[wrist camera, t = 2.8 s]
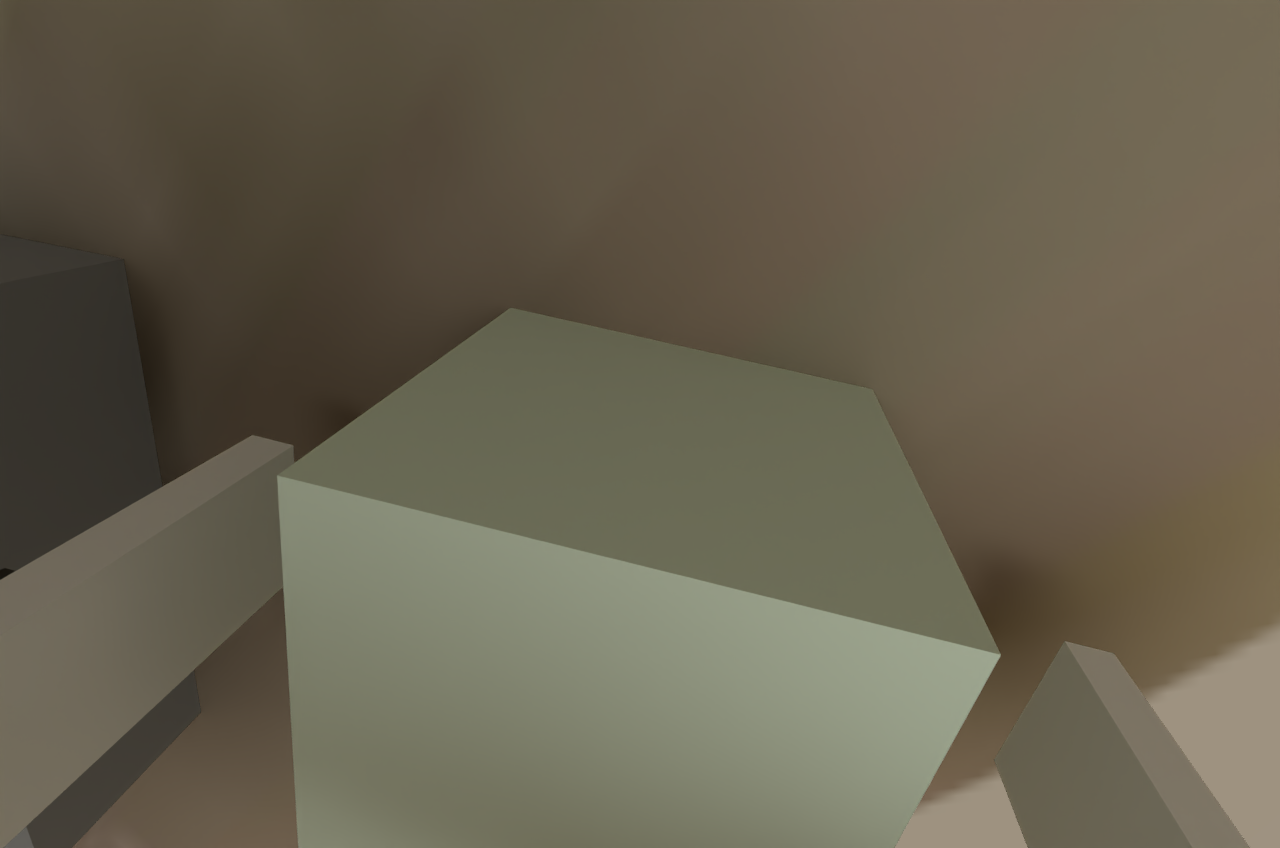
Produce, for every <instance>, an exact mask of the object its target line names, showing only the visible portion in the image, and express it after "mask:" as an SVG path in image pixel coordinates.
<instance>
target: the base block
mask: <svg viewBox="0 0 1280 848" xmlns="http://www.w3.org/2000/svg"><path fill="white" fill-rule="evenodd" d="M161 487H162V481H161V475H160V469H159V463H158V457H157V451H156V446H155V440H154V434H153V428H152V422H151V416H150V410H149V405H148V399H147V393H146V387H145V381H144V375H143V369H142V364H141V358H140V352H139V346H138V340H137V334H136V328H135V323H134V317H133V311H132V305H131V299H130V293H129V287H128V282H127V276H126V270H125V264H124V259H121V258H116V257H111V256H106V255H101V254H96V253H91V252H86V251H81V250H76V249H71V248H66V247H61V246H56V245H51V244H46V243H41V242H36V241H31V240H26V239H21V238H16V237H11V236H6V235H1V234H0V570H1V569H4V568H7V569H10V570H14V571H17V570H18V569H20V568H22V567H24V566H25V565H27V564H29V563H31V562H32V561H34V560H36V559H38V558H39V557H41V556H43V555H44V554H46V553H48V552H50V551H51V550H53V549H55V548H57V547H58V546H60V545H62V544H64V543H65V542H67V541H69V540H71V539H72V538H74V537H76V536H78V535H79V534H81V533H83V532H84V531H86V530H88V529H90V528H91V527H93V526H95V525H97V524H98V523H100V522H102V521H104V520H105V519H107V518H109V517H111V516H112V515H114V514H116V513H118V512H119V511H121V510H123V509H124V508H126V507H128V506H130V505H131V504H133V503H135V502H137V501H138V500H140V499H142V498H144V497H145V496H147V495H149V494H151V493H152V492H154V491H156V490H158V489H159V488H161ZM200 713H201V709H200V703H199V697H198V692H197V686H196V680H195V674H194V670H193V671H192V672H191V673H190V674H189V675H188V676H187V677H186V678H185V679H184V680H182V681H181V682H180V683H179V684H178V685H177V686H176V687H175V688H174V689H173V690H172V691H171V692H170V693H169V694H167V695H166V696H165V697H164V698H163V699H162V700H161V701H160V702H159V703H158V704H157V705H156V706H155V707H154V708H152V709H151V710H150V711H149V712H148V713H147V714H146V715H145V716H144V717H143V718H142V719H141V720H140V721H138V722H137V723H136V724H135V725H134V726H133V727H132V728H131V729H130V730H129V731H128V732H127V733H126V734H125V735H123V736H122V737H121V738H120V739H119V740H118V741H117V742H116V743H115V744H114V745H113V746H112V747H111V748H110V749H108V750H107V751H106V752H105V753H104V754H103V755H102V756H101V757H100V758H99V759H98V760H97V761H96V762H95V763H93V764H92V765H91V766H90V767H89V768H88V769H87V770H86V771H85V772H84V773H83V774H82V775H81V776H79V777H78V778H77V779H76V780H75V781H74V782H73V783H72V784H71V785H70V786H69V787H68V788H67V789H66V790H64V791H63V792H62V793H61V794H60V795H59V796H58V797H57V798H56V799H55V800H54V801H53V802H52V803H51V804H49V805H48V806H47V807H46V808H45V809H44V810H43V811H42V812H41V813H40V814H39V815H38V816H37V817H35V818H34V819H33V820H32V821H31V822H30V823H29V824H28V825H27V826H26V827H25V828H24V829H23V830H22V831H20V832H19V833H18V834H17V835H16V836H15V837H14V838H13V839H12V840H11V841H10V842H9V843H8V844H7V845H5V846H4V847H3V848H72V847H73V846H74V845H75V844H76V843H77V842H78V841H79V840H80V839H81V837H82V836H83V835H84V834H85V833H86V832H87V831H88V830H89V829H90V828H91V827H92V826H93V825H94V824H95V823H96V822H97V821H98V820H99V819H100V818H101V816H102V815H103V814H104V813H105V812H106V811H107V810H108V809H109V808H110V807H111V806H112V805H113V804H114V803H115V802H116V801H117V800H118V799H119V798H120V797H121V795H122V794H123V793H124V792H125V791H126V790H127V789H128V788H129V787H130V786H131V785H132V784H133V783H134V782H135V781H136V780H137V779H138V778H139V777H140V776H141V774H142V773H143V772H144V771H145V770H146V769H147V768H148V767H149V766H150V765H151V764H152V763H153V762H154V761H155V760H156V759H157V758H158V757H159V756H160V755H161V753H162V752H163V751H164V750H165V749H166V748H167V747H168V746H169V745H170V744H171V743H172V742H173V741H174V740H175V739H176V738H177V737H178V736H179V735H180V734H181V732H182V731H183V730H184V729H185V728H186V727H187V726H188V725H189V724H190V723H191V722H192V721H193V720H194V719H195V718H196V717H197V716H198V715H199V714H200Z"/></svg>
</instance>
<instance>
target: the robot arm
mask: <svg viewBox="0 0 1280 848" xmlns="http://www.w3.org/2000/svg"><path fill="white" fill-rule="evenodd" d="M292 464H294V446H293V445H290V444H286V443H282V442H278V441H275V440H271V439H267V438H263V437H259V436H255V435H251V436H250V437H248V438H246V439H245V440H243V441H241V442H239V443H238V444H236V445H234V446H232V447H231V448H229V449H227V450H225V451H224V452H222V453H220V454H218V455H217V456H215V457H213V458H211V459H210V460H208V461H206V462H205V463H203V464H201V465H199V466H198V467H196V468H194V469H192V470H191V471H189V472H187V473H185V474H184V475H182V476H180V477H178V478H177V479H175V480H173V481H171V482H170V483H168V484H166V485H164V486H163V487H161V488H159V489H158V490H156V491H154V492H152V493H151V494H149V495H147V496H145V497H144V498H142V499H140V500H138V501H137V502H135V503H133V504H131V505H130V506H128V507H126V508H124V509H123V510H121V511H119V512H118V513H116V514H114V515H112V516H111V517H109V518H107V519H105V520H104V521H102V522H100V523H98V524H97V525H95V526H93V527H91V528H90V529H88V530H86V531H84V532H83V533H81V534H79V535H78V536H76V537H74V538H72V539H71V540H69V541H67V542H65V543H64V544H62V545H60V546H58V547H57V548H55V549H53V550H51V551H50V552H48V553H46V554H44V555H43V556H41V557H39V558H38V559H36V560H34V561H32V562H31V563H29V564H27V565H25V566H24V567H22V568H20V569H18V570H17V571H14V570H10V569H7V568H4V569H1V570H0V848H3V847H4V846H5V845H7V844H8V843H9V842H10V841H11V840H12V839H13V838H14V837H15V836H16V835H17V834H18V833H19V832H20V831H22V830H23V829H24V828H25V827H26V826H27V825H28V824H29V823H30V822H31V821H32V820H33V819H34V818H35V817H37V816H38V815H39V814H40V813H41V812H42V811H43V810H44V809H45V808H46V807H47V806H48V805H49V804H51V803H52V802H53V801H54V800H55V799H56V798H57V797H58V796H59V795H60V794H61V793H62V792H63V791H64V790H66V789H67V788H68V787H69V786H70V785H71V784H72V783H73V782H74V781H75V780H76V779H77V778H78V777H79V776H81V775H82V774H83V773H84V772H85V771H86V770H87V769H88V768H89V767H90V766H91V765H92V764H93V763H95V762H96V761H97V760H98V759H99V758H100V757H101V756H102V755H103V754H104V753H105V752H106V751H107V750H108V749H110V748H111V747H112V746H113V745H114V744H115V743H116V742H117V741H118V740H119V739H120V738H121V737H122V736H123V735H125V734H126V733H127V732H128V731H129V730H130V729H131V728H132V727H133V726H134V725H135V724H136V723H137V722H138V721H140V720H141V719H142V718H143V717H144V716H145V715H146V714H147V713H148V712H149V711H150V710H151V709H152V708H154V707H155V706H156V705H157V704H158V703H159V702H160V701H161V700H162V699H163V698H164V697H165V696H166V695H167V694H169V693H170V692H171V691H172V690H173V689H174V688H175V687H176V686H177V685H178V684H179V683H180V682H181V681H182V680H184V679H185V678H186V677H187V676H188V675H189V674H190V673H191V672H192V671H193V670H194V669H195V668H196V667H198V666H199V665H200V664H201V663H202V662H203V661H204V660H205V659H206V658H207V657H208V656H209V655H210V654H211V653H213V652H214V651H215V650H216V649H217V648H218V647H219V646H220V645H221V644H222V643H223V642H224V641H225V640H226V639H228V638H229V637H230V636H231V635H232V634H233V633H234V632H235V631H236V630H237V629H238V628H239V627H240V626H242V625H243V624H244V623H245V622H246V621H247V620H248V619H249V618H250V617H251V616H252V615H253V614H254V613H255V612H257V611H258V610H259V609H260V608H261V607H262V606H263V605H264V604H265V603H266V602H267V601H268V600H269V599H270V598H272V597H273V596H274V595H275V594H276V593H277V592H278V591H279V590H280V589H281V588H282V587H283V572H282V554H281V537H280V519H279V502H278V484H277V475H278V474H280V473H281V472H283V471H284V470H285V469H287V468H288V467H289V466H291V465H292ZM994 761H995V763H996V766H997V769H998V771H999V774H1000V776H1001V779H1002V782H1003V784H1004V787H1005V789H1006V792H1007V795H1008V797H1009V799H1010V802H1011V805H1012V807H1013V810H1014V813H1015V815H1016V818H1017V821H1018V823H1019V826H1020V828H1021V831H1022V834H1023V836H1024V839H1025V841H1026V844H1027V847H1028V848H1250V847H1249V846H1248V844H1247V843H1246V841H1245V840H1244V838H1243V837H1242V836H1241V834H1240V833H1239V831H1238V830H1237V828H1236V827H1235V826H1234V824H1233V823H1232V821H1231V820H1230V818H1229V817H1228V816H1227V814H1226V813H1225V812H1224V810H1223V808H1222V807H1221V806H1220V804H1219V803H1218V801H1217V800H1216V798H1215V797H1214V796H1213V794H1212V793H1211V791H1210V790H1209V788H1208V787H1207V786H1206V784H1205V783H1204V781H1203V780H1202V779H1201V777H1200V776H1199V774H1198V773H1197V771H1196V770H1195V768H1194V767H1193V766H1192V764H1191V763H1190V762H1189V760H1188V759H1187V757H1186V756H1185V754H1184V753H1183V751H1182V750H1181V748H1180V747H1179V746H1178V744H1177V743H1176V741H1175V740H1174V738H1173V737H1172V736H1171V734H1170V733H1169V731H1168V730H1167V729H1166V727H1165V726H1164V724H1163V723H1162V721H1161V720H1160V719H1159V717H1158V716H1157V714H1156V713H1155V712H1154V710H1153V708H1152V707H1151V706H1150V704H1149V703H1148V701H1147V700H1146V698H1145V697H1144V696H1143V694H1142V693H1141V691H1140V690H1139V688H1138V687H1137V686H1136V684H1135V683H1134V681H1133V680H1132V678H1131V677H1130V676H1129V674H1128V673H1127V671H1126V670H1125V668H1124V667H1123V666H1122V664H1121V663H1120V661H1119V660H1118V658H1117V657H1116V656H1115V654H1114V653H1110V652H1106V651H1102V650H1098V649H1094V648H1090V647H1087V646H1083V645H1079V644H1075V643H1071V642H1067V641H1064V643H1063V644H1062V646H1061V648H1060V650H1059V651H1058V653H1057V655H1056V656H1055V658H1054V660H1053V661H1052V663H1051V665H1050V666H1049V668H1048V670H1047V671H1046V673H1045V675H1044V677H1043V678H1042V680H1041V682H1040V683H1039V685H1038V687H1037V688H1036V690H1035V692H1034V693H1033V695H1032V697H1031V698H1030V700H1029V702H1028V704H1027V705H1026V707H1025V709H1024V710H1023V712H1022V714H1021V715H1020V717H1019V719H1018V720H1017V722H1016V724H1015V725H1014V727H1013V729H1012V731H1011V732H1010V734H1009V736H1008V737H1007V739H1006V741H1005V742H1004V744H1003V746H1002V747H1001V749H1000V751H999V753H998V754H997V756H996V758H995V759H994Z"/></svg>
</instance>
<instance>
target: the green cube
mask: <svg viewBox="0 0 1280 848" xmlns="http://www.w3.org/2000/svg"><path fill="white" fill-rule="evenodd" d="M277 484H278V502H279V519H280V537H281V554H282V572H283V589H284V607H285V624H286V642H287V659H288V677H289V694H290V712H291V729H292V746H293V764H294V781H295V799H296V816H297V834H298V848H895V846H896V844H897V842H898V840H899V838H900V837H901V835H902V833H903V831H904V829H905V828H906V826H907V824H908V822H909V820H910V819H911V817H912V815H913V813H914V811H915V810H916V808H917V806H918V804H919V802H920V801H921V799H922V797H923V795H924V793H925V791H926V790H927V788H928V786H929V784H930V782H931V781H932V779H933V777H934V775H935V773H936V772H937V770H938V768H939V766H940V764H941V763H942V761H943V759H944V757H945V755H946V753H947V752H948V750H949V748H950V746H951V744H952V743H953V741H954V739H955V737H956V735H957V734H958V732H959V730H960V728H961V726H962V725H963V723H964V721H965V719H966V717H967V715H968V714H969V712H970V710H971V708H972V706H973V705H974V703H975V701H976V699H977V697H978V696H979V694H980V692H981V690H982V688H983V686H984V685H985V683H986V681H987V679H988V677H989V676H990V674H991V672H992V670H993V668H994V667H995V665H996V663H997V661H998V659H999V658H1000V656H1001V654H1000V652H999V650H998V648H997V646H996V644H995V641H994V639H993V637H992V635H991V633H990V631H989V629H988V627H987V625H986V623H985V621H984V619H983V617H982V615H981V613H980V611H979V608H978V606H977V604H976V602H975V600H974V598H973V596H972V594H971V592H970V590H969V588H968V586H967V584H966V582H965V580H964V577H963V575H962V573H961V571H960V569H959V567H958V565H957V563H956V561H955V559H954V557H953V555H952V553H951V551H950V549H949V547H948V544H947V542H946V540H945V538H944V536H943V534H942V532H941V530H940V528H939V526H938V524H937V522H936V520H935V518H934V516H933V513H932V511H931V509H930V507H929V505H928V503H927V501H926V499H925V497H924V495H923V493H922V491H921V489H920V487H919V485H918V483H917V480H916V478H915V476H914V474H913V472H912V470H911V468H910V466H909V464H908V462H907V460H906V458H905V456H904V454H903V452H902V449H901V447H900V445H899V443H898V441H897V439H896V437H895V435H894V433H893V431H892V429H891V427H890V425H889V423H888V421H887V419H886V416H885V414H884V412H883V410H882V408H881V406H880V404H879V402H878V400H877V398H876V396H875V394H874V392H873V390H872V389H870V388H865V387H861V386H856V385H852V384H848V383H843V382H839V381H834V380H830V379H825V378H821V377H816V376H812V375H808V374H803V373H799V372H794V371H790V370H785V369H781V368H777V367H772V366H768V365H763V364H759V363H754V362H750V361H745V360H741V359H737V358H732V357H728V356H723V355H719V354H714V353H710V352H706V351H701V350H697V349H692V348H688V347H683V346H679V345H674V344H670V343H666V342H661V341H657V340H652V339H648V338H643V337H639V336H635V335H630V334H626V333H621V332H617V331H612V330H608V329H603V328H599V327H595V326H590V325H586V324H581V323H577V322H572V321H568V320H564V319H559V318H555V317H550V316H546V315H541V314H537V313H532V312H528V311H524V310H519V309H515V308H509V309H508V310H507V311H505V312H504V313H503V314H501V315H500V316H498V317H497V318H496V319H494V320H493V321H491V322H490V323H489V324H487V325H486V326H484V327H483V328H482V329H480V330H479V331H477V332H476V333H475V334H473V335H472V336H470V337H469V338H468V339H466V340H465V341H464V342H462V343H461V344H459V345H458V346H457V347H455V348H454V349H452V350H451V351H450V352H448V353H447V354H445V355H444V356H443V357H441V358H440V359H438V360H437V361H436V362H434V363H433V364H431V365H430V366H429V367H427V368H426V369H425V370H423V371H422V372H420V373H419V374H418V375H416V376H415V377H413V378H412V379H411V380H409V381H408V382H406V383H405V384H404V385H402V386H401V387H399V388H398V389H397V390H395V391H394V392H393V393H391V394H390V395H388V396H387V397H386V398H384V399H383V400H381V401H380V402H379V403H377V404H376V405H374V406H373V407H372V408H370V409H369V410H367V411H366V412H365V413H363V414H362V415H360V416H359V417H358V418H356V419H355V420H354V421H352V422H351V423H349V424H348V425H347V426H345V427H344V428H342V429H341V430H340V431H338V432H337V433H335V434H334V435H333V436H331V437H330V438H328V439H327V440H326V441H324V442H323V443H321V444H320V445H319V446H317V447H316V448H315V449H313V450H312V451H310V452H309V453H308V454H306V455H305V456H303V457H302V458H301V459H299V460H298V461H296V462H295V463H294V464H292V465H291V466H289V467H288V468H287V469H285V470H284V471H283V472H281V473H280V474H278V475H277Z"/></svg>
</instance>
